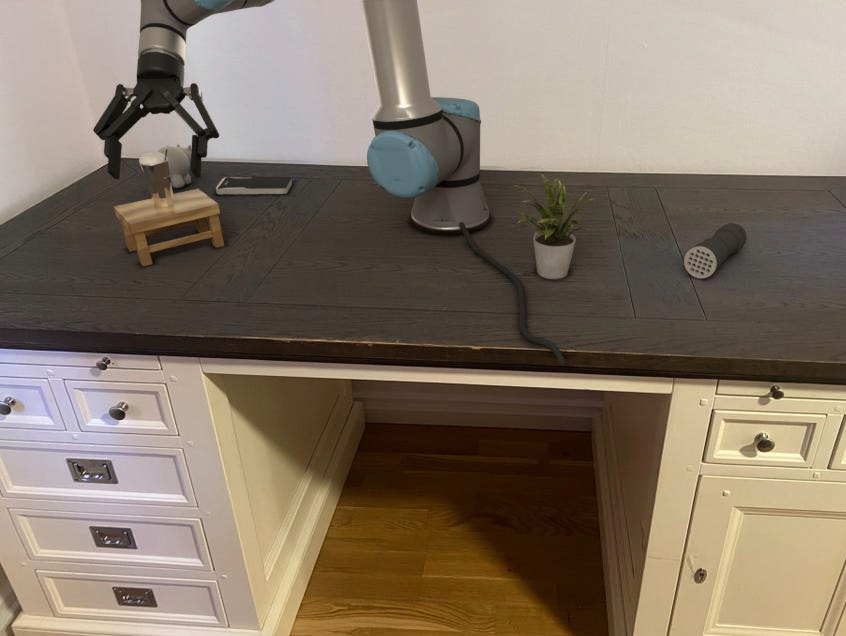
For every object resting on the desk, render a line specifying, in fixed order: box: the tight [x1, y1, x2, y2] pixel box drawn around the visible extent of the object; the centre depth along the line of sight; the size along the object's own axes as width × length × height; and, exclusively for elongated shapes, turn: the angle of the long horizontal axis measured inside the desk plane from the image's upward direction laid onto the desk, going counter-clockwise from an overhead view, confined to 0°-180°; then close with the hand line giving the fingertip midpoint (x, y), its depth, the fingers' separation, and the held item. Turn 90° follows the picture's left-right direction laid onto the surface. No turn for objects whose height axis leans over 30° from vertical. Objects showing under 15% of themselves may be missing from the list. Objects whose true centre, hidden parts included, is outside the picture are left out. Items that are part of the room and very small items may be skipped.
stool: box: [113, 188, 225, 267], centre depth 128 cm, size 10×15×8 cm, turn 128°
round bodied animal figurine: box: [156, 143, 192, 189], centre depth 158 cm, size 7×12×8 cm, turn 165°
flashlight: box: [683, 222, 747, 279], centre depth 124 cm, size 15×5×5 cm, turn 142°
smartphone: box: [215, 176, 293, 195], centre depth 156 cm, size 8×1×15 cm
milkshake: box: [138, 149, 174, 208], centre depth 123 cm, size 4×5×10 cm
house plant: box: [512, 172, 595, 280], centre depth 118 cm, size 14×14×16 cm
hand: (154, 175), depth 121 cm, fingers open, 13 cm apart
